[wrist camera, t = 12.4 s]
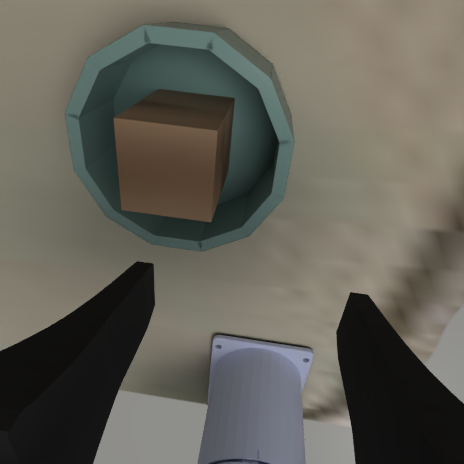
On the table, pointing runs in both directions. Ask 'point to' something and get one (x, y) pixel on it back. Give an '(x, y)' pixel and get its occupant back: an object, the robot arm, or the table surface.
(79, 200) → the table surface
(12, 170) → the table surface
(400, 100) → the table surface
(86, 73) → the teal bowl
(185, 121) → the walnut block
